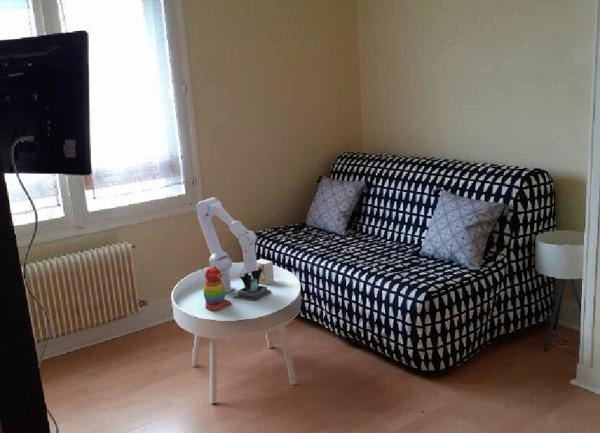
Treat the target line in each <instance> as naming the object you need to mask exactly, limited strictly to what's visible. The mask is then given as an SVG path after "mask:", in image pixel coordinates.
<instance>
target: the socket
mask: <svg viewBox="0 0 600 433" xmlns="http://www.w3.org/2000/svg"><path fill="white" fill-rule="evenodd" d="M271 293H272V290H270V289H268V287H267V286H266V285H259V284H258V291H257V292H255V293H252V292H247V289H246V288H245V286H244V287H242V288H241V289H239V290H237V294H235V295H234V299H239V300H246V301H253V302H257V301H260V300H261V299H262V298H264V297H265V296H267V295H269V294H271Z"/></svg>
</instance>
